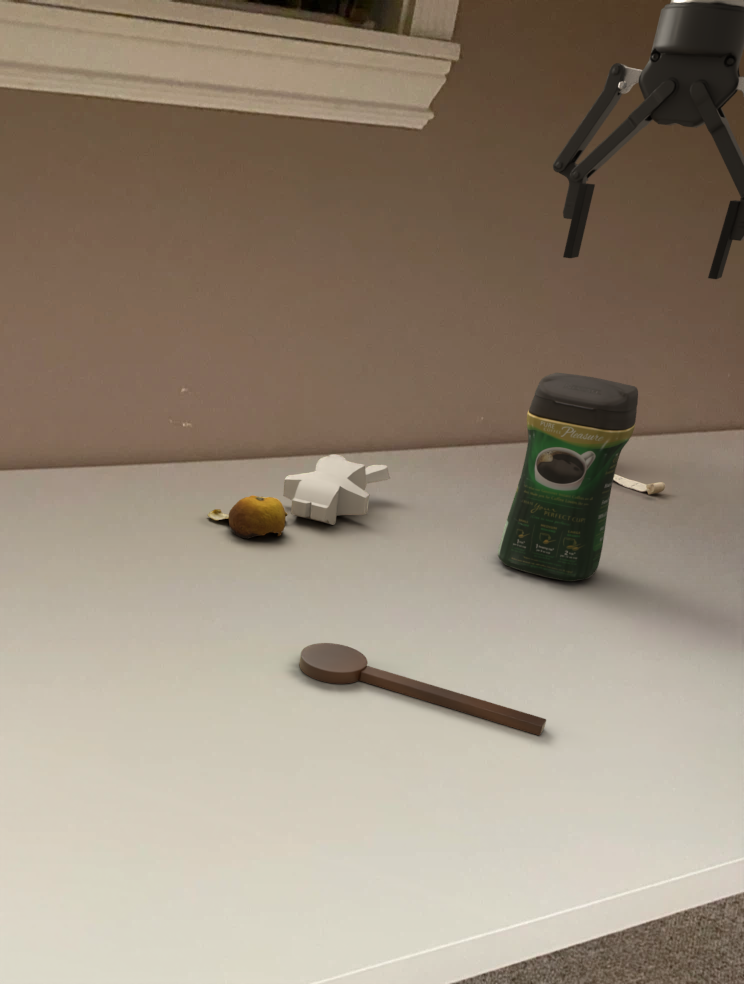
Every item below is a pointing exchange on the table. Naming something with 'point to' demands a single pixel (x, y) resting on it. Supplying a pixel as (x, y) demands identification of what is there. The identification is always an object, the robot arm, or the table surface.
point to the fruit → (254, 516)
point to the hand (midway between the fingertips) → (640, 267)
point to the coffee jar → (567, 475)
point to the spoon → (405, 685)
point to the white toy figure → (332, 489)
